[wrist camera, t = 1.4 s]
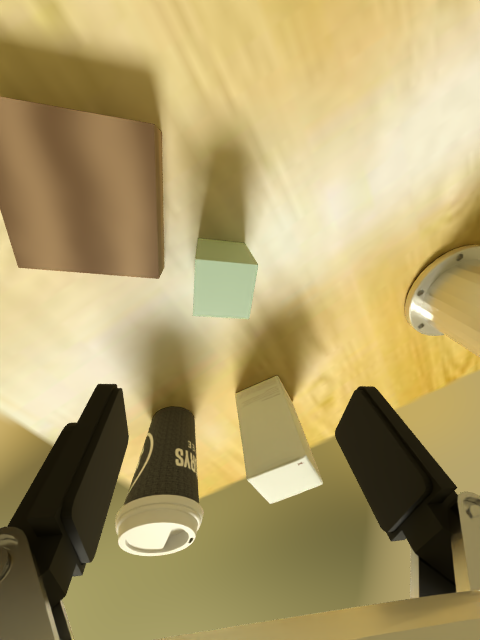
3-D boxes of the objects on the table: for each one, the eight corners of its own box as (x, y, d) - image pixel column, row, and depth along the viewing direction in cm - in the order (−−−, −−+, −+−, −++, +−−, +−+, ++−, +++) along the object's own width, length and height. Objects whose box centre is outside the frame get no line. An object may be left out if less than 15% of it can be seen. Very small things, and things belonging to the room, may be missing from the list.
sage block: (244, 243, 27) (258, 265, 20) (238, 286, 29) (249, 319, 22) (198, 237, 26) (195, 259, 19) (196, 282, 28) (192, 315, 21)
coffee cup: (180, 446, 42) (169, 563, 30) (129, 426, 39) (91, 551, 26) (216, 415, 40) (221, 529, 27) (165, 390, 36) (141, 510, 23)
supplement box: (233, 392, 38) (244, 479, 27) (278, 373, 37) (308, 455, 26) (252, 420, 41) (269, 506, 30) (293, 403, 40) (325, 485, 30)
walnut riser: (162, 133, 22) (154, 124, 18) (164, 266, 27) (158, 278, 24) (6, 105, 20) (-37, 89, 16) (44, 255, 25) (18, 267, 22)
